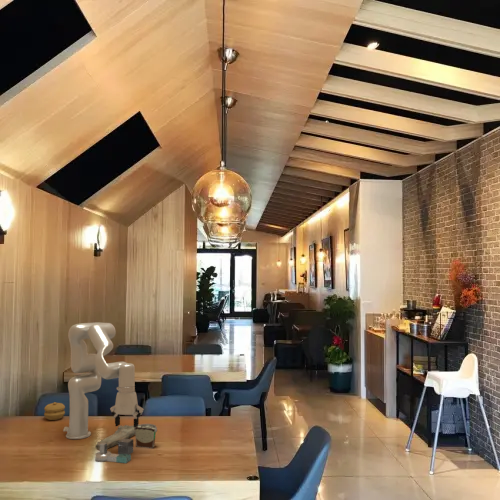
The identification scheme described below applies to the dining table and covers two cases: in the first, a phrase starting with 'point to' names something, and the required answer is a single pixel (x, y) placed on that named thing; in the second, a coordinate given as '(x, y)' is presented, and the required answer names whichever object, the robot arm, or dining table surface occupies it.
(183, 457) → the dining table surface
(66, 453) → the dining table surface
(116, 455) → the ratchet
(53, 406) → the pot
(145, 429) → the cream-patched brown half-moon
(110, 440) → the elongated rock
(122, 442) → the brushed metal cube
